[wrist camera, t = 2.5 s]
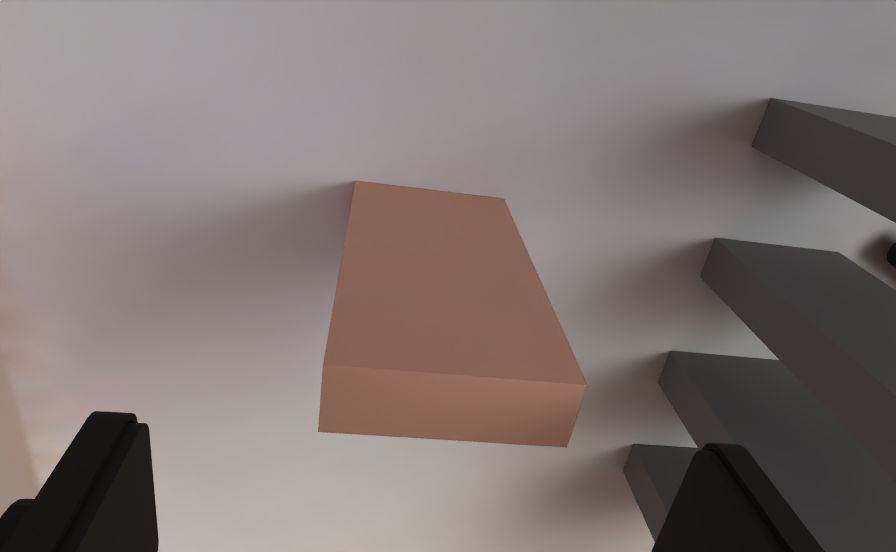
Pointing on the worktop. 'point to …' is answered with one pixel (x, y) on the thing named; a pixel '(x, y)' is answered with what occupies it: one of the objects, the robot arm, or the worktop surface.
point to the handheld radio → (892, 255)
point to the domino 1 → (444, 326)
